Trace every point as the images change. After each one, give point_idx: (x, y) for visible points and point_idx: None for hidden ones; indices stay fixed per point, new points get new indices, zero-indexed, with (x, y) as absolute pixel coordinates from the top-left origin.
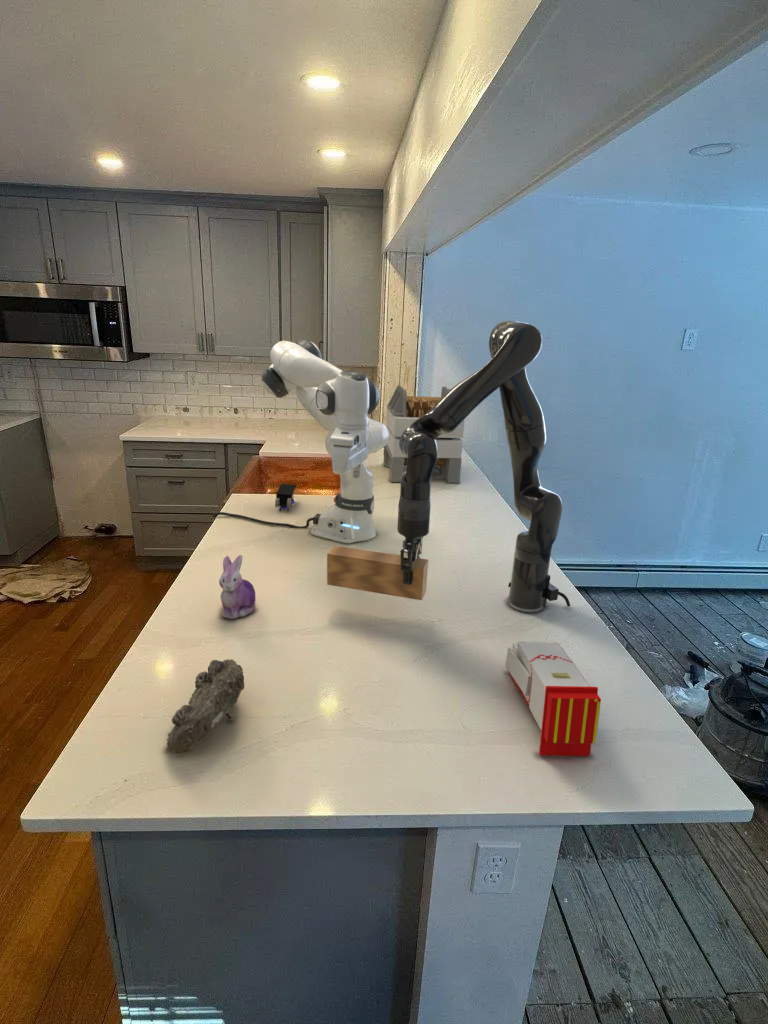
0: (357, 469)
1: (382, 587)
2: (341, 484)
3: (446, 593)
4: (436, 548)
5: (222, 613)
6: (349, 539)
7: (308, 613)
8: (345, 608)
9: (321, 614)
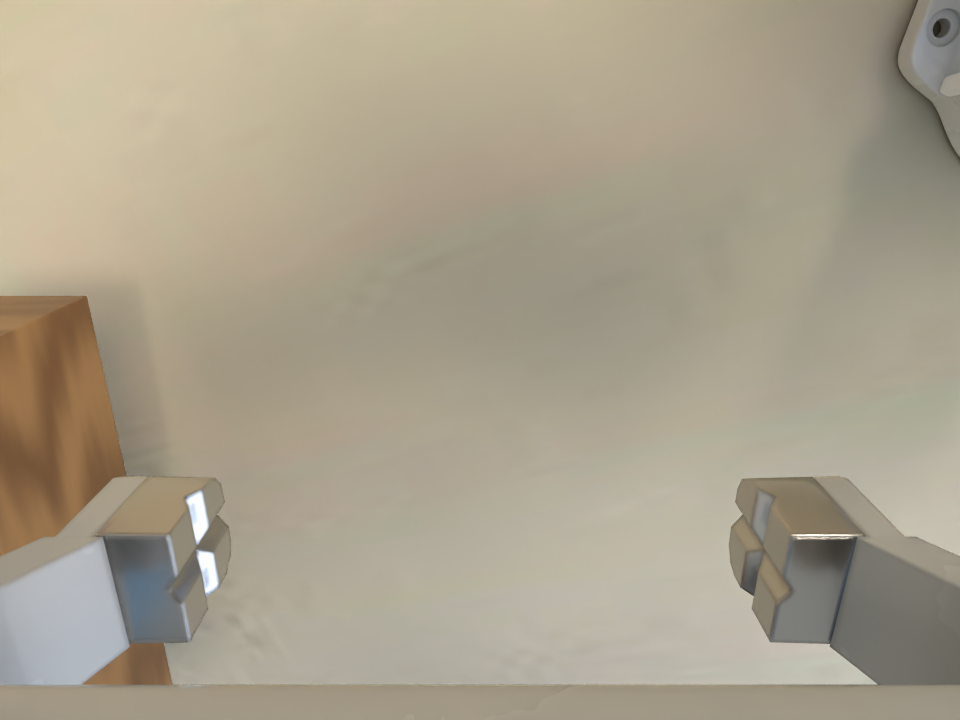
0: (880, 631)
1: None
2: (101, 492)
3: (462, 628)
4: (908, 526)
5: None
6: (932, 65)
7: (29, 176)
8: (159, 316)
9: (56, 236)
